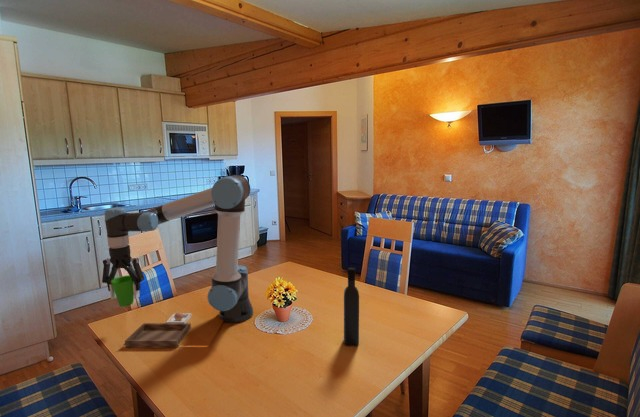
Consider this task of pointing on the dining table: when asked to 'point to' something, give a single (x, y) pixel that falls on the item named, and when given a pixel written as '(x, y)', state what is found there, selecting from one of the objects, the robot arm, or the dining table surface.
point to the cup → (124, 290)
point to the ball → (178, 316)
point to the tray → (158, 335)
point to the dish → (183, 320)
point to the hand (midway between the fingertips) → (125, 297)
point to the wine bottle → (351, 310)
